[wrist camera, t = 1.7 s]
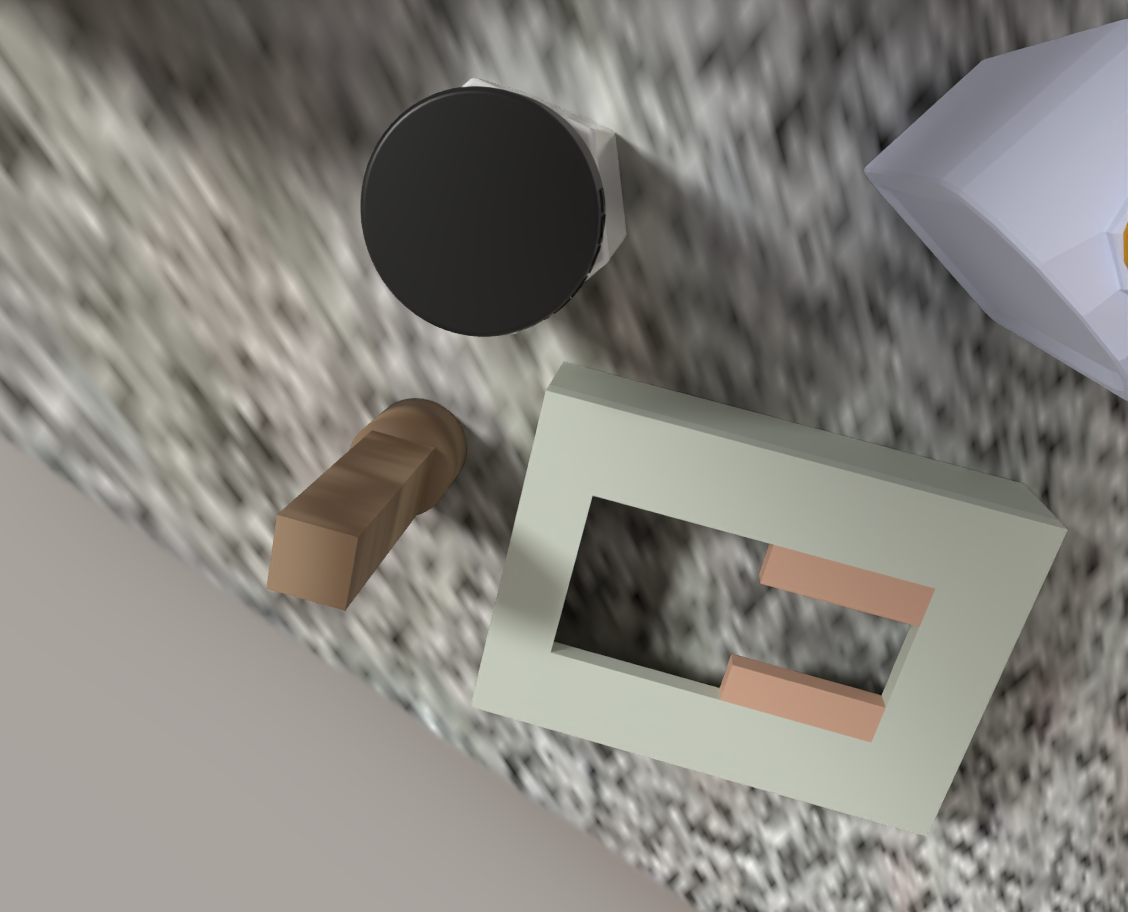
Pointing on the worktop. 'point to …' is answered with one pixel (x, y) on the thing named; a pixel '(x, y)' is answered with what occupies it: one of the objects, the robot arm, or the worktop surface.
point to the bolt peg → (365, 503)
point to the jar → (491, 207)
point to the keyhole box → (793, 563)
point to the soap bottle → (1031, 194)
